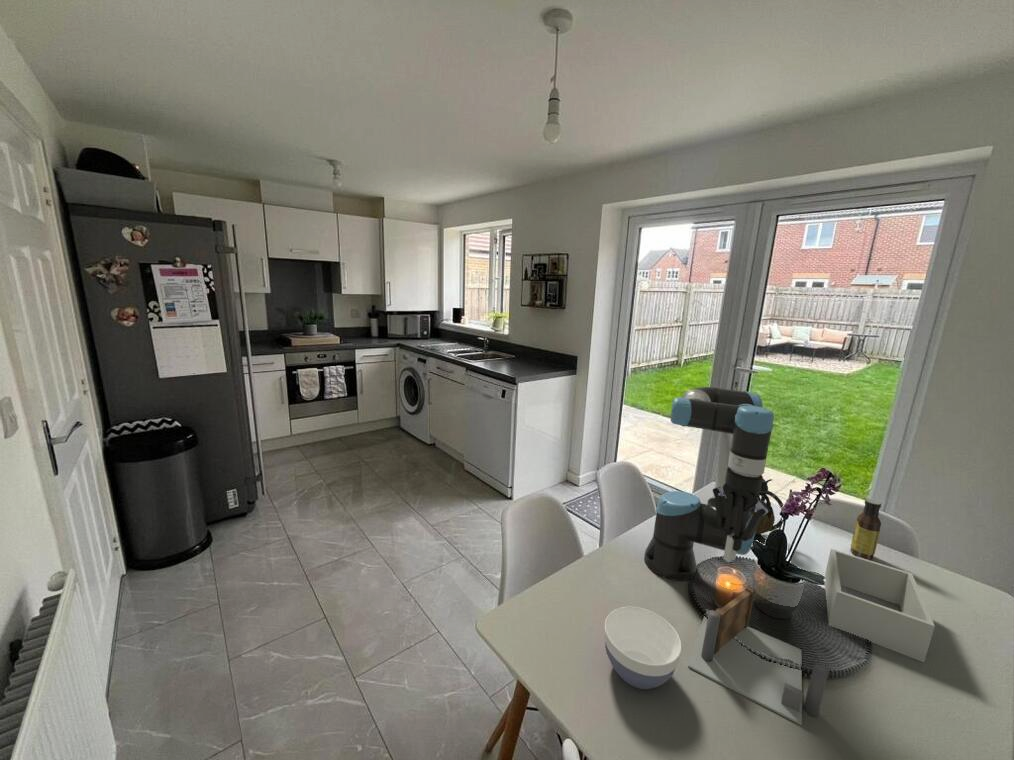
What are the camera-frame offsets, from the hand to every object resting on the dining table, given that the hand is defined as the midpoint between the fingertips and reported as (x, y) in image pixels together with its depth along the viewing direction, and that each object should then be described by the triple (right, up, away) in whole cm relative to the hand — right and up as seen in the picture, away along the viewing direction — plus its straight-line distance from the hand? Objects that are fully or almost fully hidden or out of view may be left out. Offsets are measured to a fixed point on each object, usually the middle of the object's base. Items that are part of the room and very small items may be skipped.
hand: (729, 559), depth 102 cm
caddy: (+43, -19, +9) cm, 48 cm away
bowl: (-27, -20, -12) cm, 35 cm away
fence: (+1, -20, -8) cm, 22 cm away
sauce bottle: (+65, -15, +37) cm, 77 cm away
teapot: (+28, -12, +43) cm, 53 cm away
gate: (-1, -18, -2) cm, 18 cm away
